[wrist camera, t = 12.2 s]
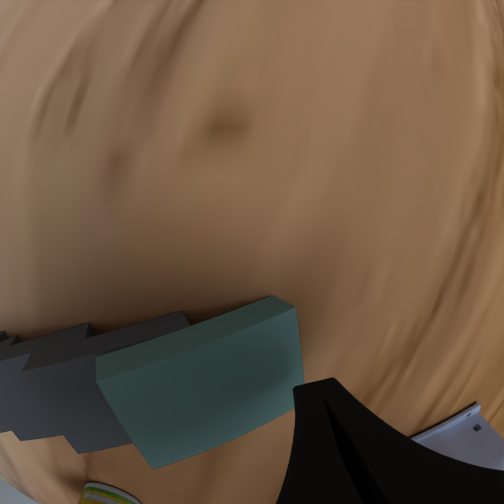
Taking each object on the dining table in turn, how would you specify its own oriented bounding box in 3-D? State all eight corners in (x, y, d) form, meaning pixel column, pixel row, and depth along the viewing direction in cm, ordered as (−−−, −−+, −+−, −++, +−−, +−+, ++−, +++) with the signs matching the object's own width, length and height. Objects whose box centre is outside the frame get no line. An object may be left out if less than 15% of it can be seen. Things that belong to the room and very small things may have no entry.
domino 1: (85, 337, 10) (-30, 368, 7) (129, 419, 11) (20, 440, 8) (88, 322, 11) (-19, 353, 9) (127, 400, 12) (24, 423, 10)
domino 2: (190, 325, 10) (21, 371, 7) (220, 415, 11) (78, 453, 9) (181, 310, 11) (31, 352, 9) (209, 396, 13) (79, 431, 10)
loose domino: (295, 307, 10) (96, 380, 7) (306, 401, 11) (152, 469, 8) (272, 295, 12) (95, 357, 8) (286, 384, 13) (144, 444, 10)
